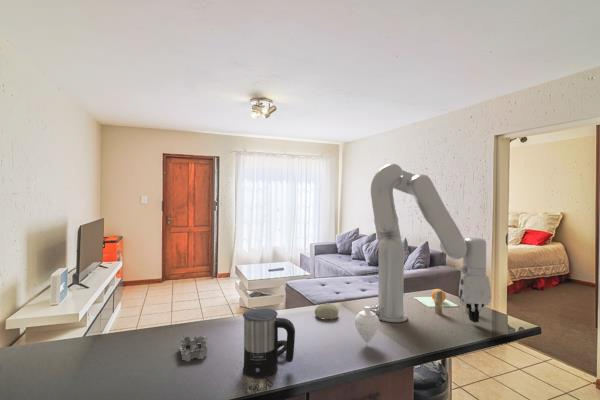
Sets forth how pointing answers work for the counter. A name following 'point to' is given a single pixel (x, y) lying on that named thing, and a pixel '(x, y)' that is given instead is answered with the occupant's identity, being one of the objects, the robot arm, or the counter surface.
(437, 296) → the left post
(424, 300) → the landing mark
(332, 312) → the sea urchin shell
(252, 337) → the milk frother
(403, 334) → the counter surface
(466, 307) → the right post
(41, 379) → the counter surface
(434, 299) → the ball
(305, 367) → the counter surface
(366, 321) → the spinning top
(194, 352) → the egg carton
